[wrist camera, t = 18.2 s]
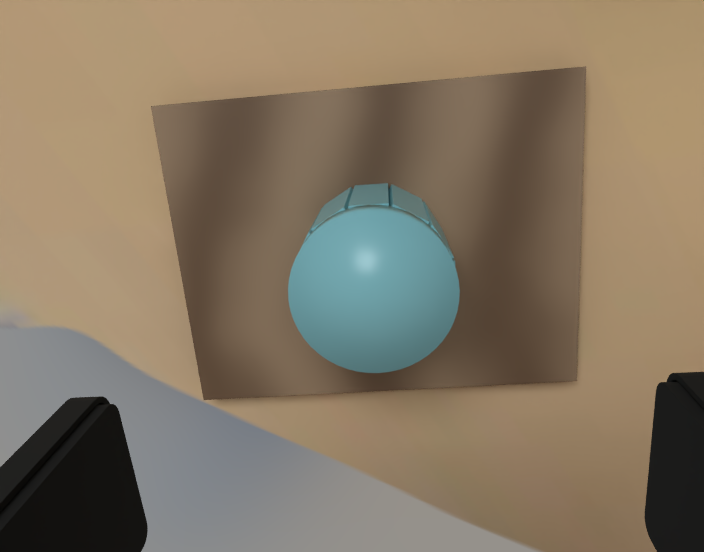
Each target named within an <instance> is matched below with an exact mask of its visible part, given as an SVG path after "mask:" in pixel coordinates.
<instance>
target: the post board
mask: <svg viewBox="0 0 704 552" xmlns="http://www.w3.org/2000/svg"><path fill="white" fill-rule="evenodd" d="M585 86H586V67H576V68H565V69H554V70H543V71H532V72H521V73H510V74H499V75H488V76H477V77H466V78H455V79H444V80H433V81H422V82H411V83H400V84H390V85H379V86H368V87H357V88H346V89H335V90H324V91H313V92H302V93H291V94H280V95H269V96H258V97H247V98H236V99H225V100H214V101H203V102H192V103H181V104H170V105H159V106H151V110H152V115H153V121H154V126H155V132H156V137H157V143H158V149H159V154H160V160H161V165H162V171H163V176H164V182H165V187H166V193H167V198H168V204H169V210H170V215H171V221H172V226H173V232H174V237H175V243H176V248H177V254H178V259H179V265H180V271H181V276H182V282H183V287H184V293H185V298H186V304H187V309H188V315H189V320H190V326H191V332H192V337H193V343H194V348H195V354H196V359H197V365H198V370H199V376H200V382H201V387H202V393H203V398H204V400H212V399H231V398H251V397H271V396H290V395H310V394H330V393H349V392H369V391H388V390H408V389H428V388H447V387H467V386H487V385H506V384H526V383H545V382H565V381H577V353H578V320H579V286H580V253H581V219H582V186H583V153H584V119H585ZM383 183H388V190H389V188H390V186H391V184H393V185H395V186H397V187H399V188H401V189H403V190H405V191H407V192H409V193H411V194H413V195H415V196H417V197H419V198H421V199H422V202H423V201H424V202H425V203H426V205H427V206H428V208H429V209H430V211H431V212H432V214H433V215H434V217H435V218H436V220H437V222H438V223H439V225H440V226H441V228H442V230H443V232H444V235H445V237H446V239H447V242H448V244H449V247H450V249H451V251H452V254H453V256H454V260H455V268H456V271H457V275H458V279H459V289H460V295H459V305H458V311H457V314H456V317H455V320H454V323H453V325H452V327H451V329H450V331H449V333H448V334H447V336H446V337H445V338H444V340H443V341H442V342H441V343H440V345H439V346H438V347H437V348H436V349H435V350H434V351H432V352H431V353H430V354H429V355H428V356H426V357H425V358H423V359H422V360H420V361H419V362H417V363H415V364H413V365H411V366H408V367H406V368H403V369H400V370H396V371H391V372H384V373H365V372H357V371H353V370H349V369H346V368H343V367H341V366H338V365H336V364H334V363H332V362H330V361H328V360H327V359H325V358H324V357H322V356H321V355H320V354H318V353H317V352H316V351H315V350H314V349H313V348H312V347H311V346H310V345H309V344H308V343H307V342H306V340H305V339H304V338H303V336H302V335H301V333H300V332H299V330H298V328H297V326H296V324H295V322H294V320H293V317H292V314H291V311H290V306H289V300H288V284H289V277H290V273H291V268H292V266H293V263H294V261H295V258H296V256H297V255H298V253H299V251H300V249H301V247H302V245H303V243H304V240H305V238H306V236H307V234H308V232H309V230H310V228H311V227H312V225H313V223H314V221H315V219H316V217H317V216H318V214H319V212H320V210H321V208H323V206H324V205H325V204H326V203H328V202H329V201H331V200H332V199H334V198H335V197H337V196H338V195H340V194H341V193H343V192H344V191H346V190H347V189H348V188H350V187H352V188H353V189H354V186H355V185H369V184H383Z"/></svg>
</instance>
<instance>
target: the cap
mask: <svg viewBox="0 0 704 552" xmlns="http://www.w3.org/2000/svg"><path fill="white" fill-rule="evenodd" d="M459 295H460V289H459V279H458V275H457V271H456V268H455V260H454V256H453V254H452V251H451V249H450V247H449V244H448V242H447V239H446V237H445V235H444V232H443V230H442V228H441V226H440V225H439V223H438V222H437V220H436V218H435V217H434V215H433V214H432V212H431V211H430V209H429V208H428V206H427V205H426V203H425V202H424V201H423V202H422V199H421V198H419V197H417V196H415V195H413V194H411V193H409V192H407V191H405V190H403V189H401V188H399V187H397V186H395V185H393V184H391V186H390V188H389V190H388V183H383V184H369V185H355V186H354V189H353V188H352V187H350V188H348V189H347V190H346V191H344V192H343V193H341V194H340V195H338V196H337V197H335V198H334V199H332V200H331V201H329V202H328V203H326V204H325V205H324V206H323V208H321V210H320V212H319V214H318V216H317V217H316V219H315V221H314V223H313V225H312V227H311V228H310V230H309V232H308V234H307V236H306V238H305V240H304V243H303V245H302V247H301V249H300V251H299V253H298V255H297V256H296V258H295V261H294V263H293V266H292V268H291V273H290V277H289V284H288V300H289V306H290V311H291V314H292V317H293V320H294V322H295V324H296V326H297V328H298V330H299V332H300V333H301V335H302V336H303V338H304V339H305V340H306V342H307V343H308V344H309V345H310V346H311V347H312V348H313V349H314V350H315V351H316V352H317V353H318V354H320V355H321V356H322V357H324V358H325V359H327V360H328V361H330V362H332V363H334V364H336V365H338V366H341V367H343V368H346V369H349V370H353V371H357V372H365V373H384V372H391V371H396V370H400V369H403V368H406V367H408V366H411V365H413V364H415V363H417V362H419V361H420V360H422V359H423V358H425V357H426V356H428V355H429V354H430V353H431V352H432V351H434V350H435V349H436V348H437V347H438V346H439V345H440V343H441V342H442V341H443V340H444V338H445V337H446V336H447V334H448V333H449V331H450V329H451V327H452V325H453V323H454V320H455V317H456V314H457V311H458V305H459Z"/></svg>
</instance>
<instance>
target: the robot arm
mask: <svg viewBox="0 0 704 552" xmlns="http://www.w3.org/2000/svg"><path fill="white" fill-rule="evenodd" d="M645 523H646V528H647V532H648V535H649V537H650V539H651V541H652V543H653V545H654V547H655V549H656V550H657V552H704V372H688V373H672V374H671V375H669V377H668V379H667V382H661V383H659V384H658V386H657V389H656V398H655V409H654V419H653V430H652V441H651V452H650V463H649V474H648V484H647V495H646V506H645ZM146 537H147V521H146V517H145V513H144V509H143V505H142V502H141V497H140V494H139V490H138V485H137V482H136V477H135V473H134V469H133V465H132V462H131V457H130V453H129V449H128V446H127V442H126V438H125V434H124V430H123V426H122V422H121V418H120V414H119V411H118V408H117V407H116V406H115V405H114V404H110V403H109V401H108V400H107V399H106V398H104V397H80V398H70V399H69V400H67V401H66V402H65V403H64V404H63V405H62V406H61V407H60V408H59V409H58V410H57V411H56V412H55V413H54V414H53V415H52V416H51V417H50V418H49V419H48V420H47V421H46V422H45V423H44V424H43V425H42V426H41V427H40V428H39V429H38V430H37V431H36V432H35V433H34V434H33V435H32V436H31V437H30V438H29V439H28V440H27V441H26V442H25V443H24V444H23V445H22V446H21V447H20V448H19V449H18V450H17V451H16V452H15V453H14V454H13V455H12V456H11V457H10V458H9V459H8V460H7V461H6V462H5V463H4V464H3V465H2V466H1V467H0V552H141V551H142V549H143V547H144V544H145V542H146Z"/></svg>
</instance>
